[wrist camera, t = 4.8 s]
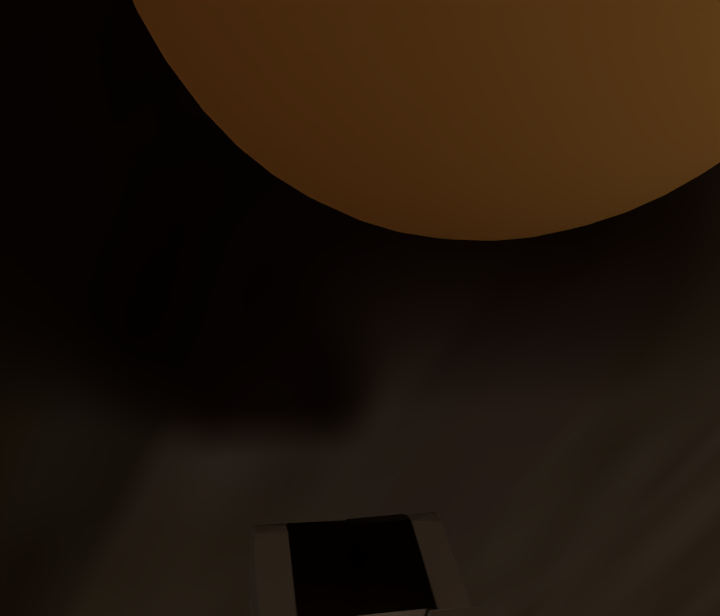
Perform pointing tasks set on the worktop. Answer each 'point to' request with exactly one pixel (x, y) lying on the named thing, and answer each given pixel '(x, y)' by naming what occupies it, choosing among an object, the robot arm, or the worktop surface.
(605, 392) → the worktop surface
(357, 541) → the robot arm
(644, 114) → the ball
